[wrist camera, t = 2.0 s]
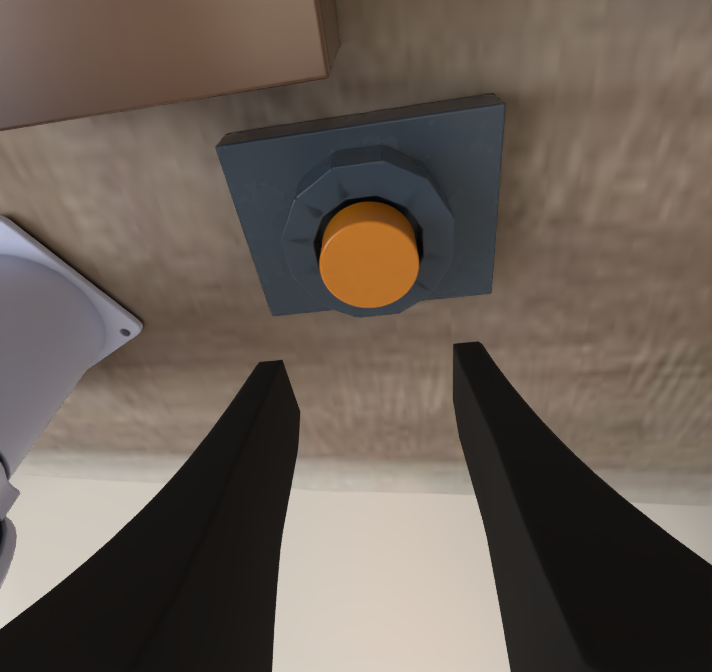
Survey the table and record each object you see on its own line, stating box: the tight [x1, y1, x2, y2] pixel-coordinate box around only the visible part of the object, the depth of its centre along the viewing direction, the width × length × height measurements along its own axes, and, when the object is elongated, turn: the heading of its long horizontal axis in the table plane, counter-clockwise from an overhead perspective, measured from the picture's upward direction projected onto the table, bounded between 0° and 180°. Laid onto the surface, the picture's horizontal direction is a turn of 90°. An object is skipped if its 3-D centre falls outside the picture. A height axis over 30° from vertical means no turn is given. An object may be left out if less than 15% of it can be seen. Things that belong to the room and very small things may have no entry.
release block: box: [216, 93, 505, 318], centre depth 18 cm, size 10×8×4 cm
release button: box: [319, 201, 419, 308], centre depth 16 cm, size 4×4×2 cm
